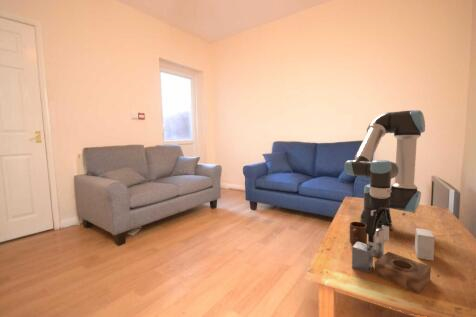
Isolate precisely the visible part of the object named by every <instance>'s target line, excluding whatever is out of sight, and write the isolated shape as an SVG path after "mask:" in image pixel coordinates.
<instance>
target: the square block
mask: <svg viewBox="0 0 476 317" xmlns="http://www.w3.org/2000/svg"><path fill="white" fill-rule="evenodd" d="M351 249H352V252H351V254H352V255H351V265H352V266H351V268H352V269H354V270H357V271H360V272H363V273H365V274H368V275H369V273H370V272H371V271H372V269H373V266H374V255H373V246H371V245H368V243H367V244H364V243H361V242H356V243H355V245H354V244H353V246H351Z"/></svg>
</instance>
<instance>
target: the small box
mask: <svg viewBox="0 0 476 317" xmlns="http://www.w3.org/2000/svg"><path fill="white" fill-rule="evenodd" d="M414 251H415V252H414V253H415V255H416V258H418V259H420V260H426V261H434V260H435V259H434V258H435V236H434V233H433V232H432V230H431V229H425V228H419V227H417V228H415V236H414Z"/></svg>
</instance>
